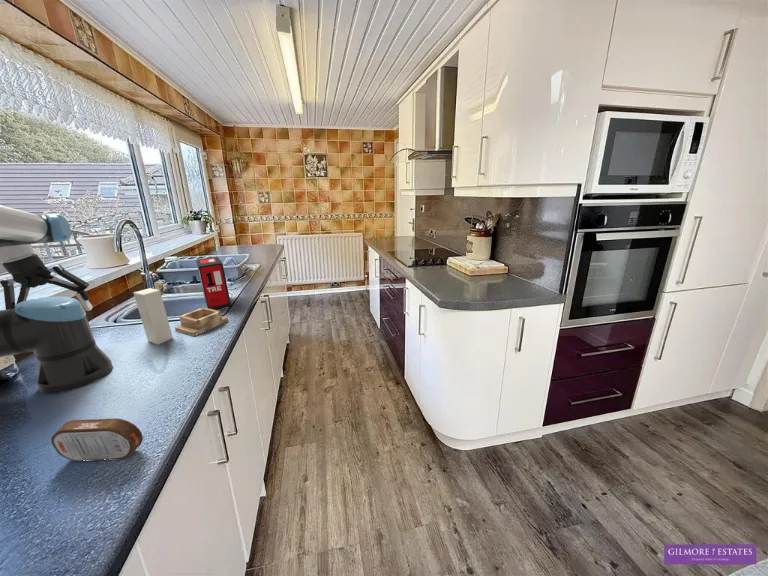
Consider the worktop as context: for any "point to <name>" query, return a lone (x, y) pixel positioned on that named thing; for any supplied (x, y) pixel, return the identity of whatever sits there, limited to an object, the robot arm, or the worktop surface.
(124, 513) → the worktop surface
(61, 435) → the tin
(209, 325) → the wooden box
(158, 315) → the white rectangular block
